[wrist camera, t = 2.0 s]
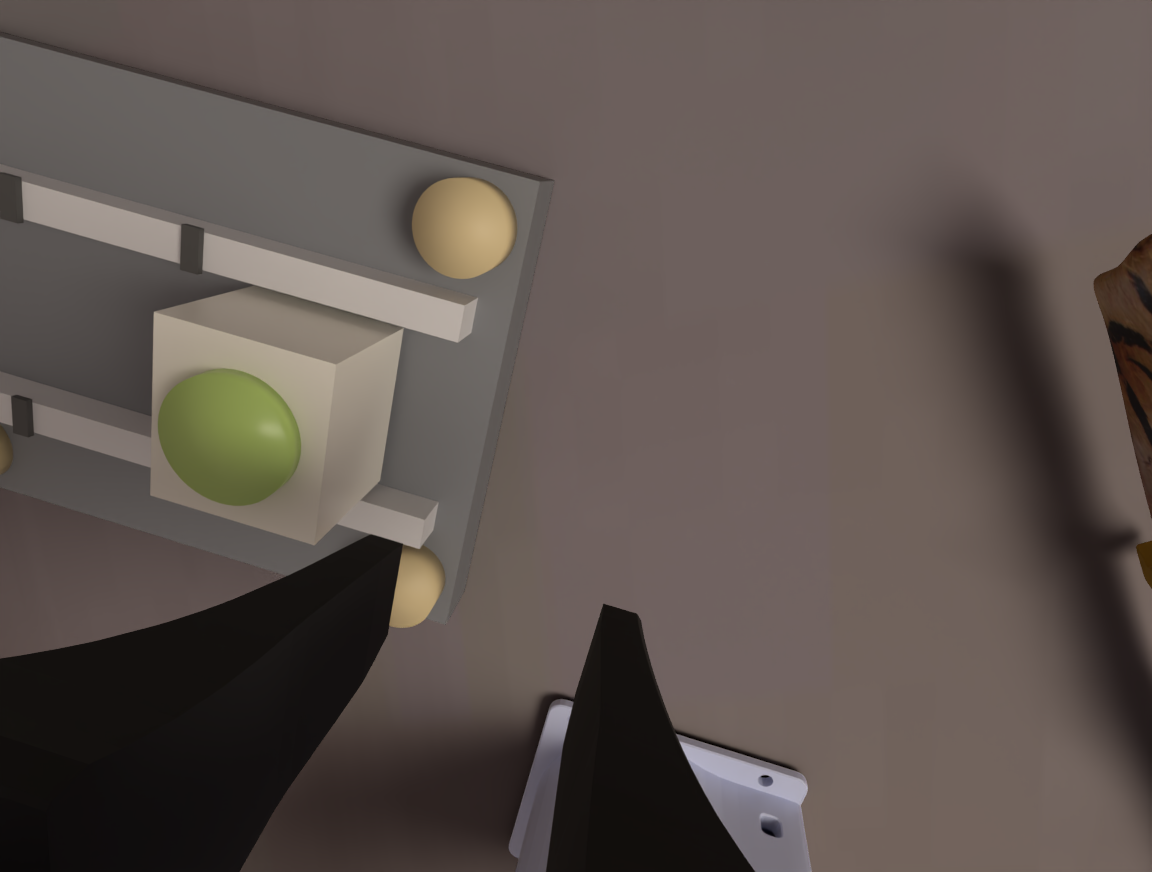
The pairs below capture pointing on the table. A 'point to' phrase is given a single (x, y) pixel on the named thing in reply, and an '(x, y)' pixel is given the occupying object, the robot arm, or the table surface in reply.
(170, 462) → the block
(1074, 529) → the table surface
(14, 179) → the levelling base
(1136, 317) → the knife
